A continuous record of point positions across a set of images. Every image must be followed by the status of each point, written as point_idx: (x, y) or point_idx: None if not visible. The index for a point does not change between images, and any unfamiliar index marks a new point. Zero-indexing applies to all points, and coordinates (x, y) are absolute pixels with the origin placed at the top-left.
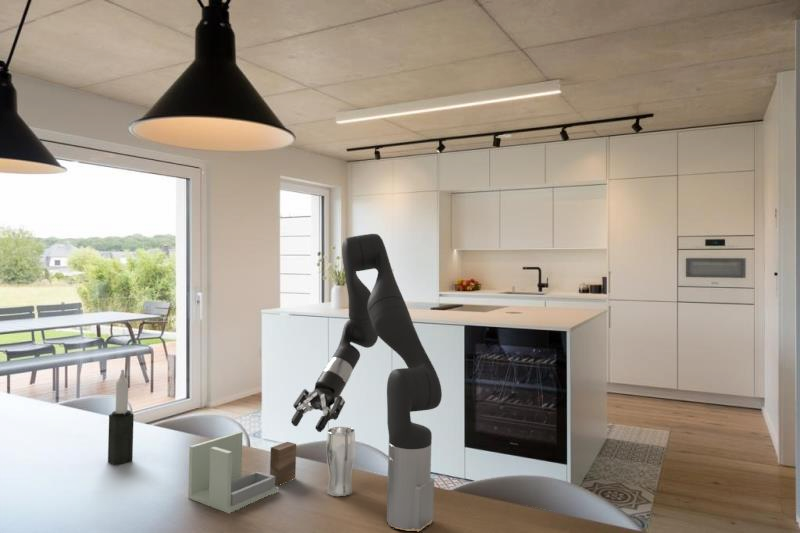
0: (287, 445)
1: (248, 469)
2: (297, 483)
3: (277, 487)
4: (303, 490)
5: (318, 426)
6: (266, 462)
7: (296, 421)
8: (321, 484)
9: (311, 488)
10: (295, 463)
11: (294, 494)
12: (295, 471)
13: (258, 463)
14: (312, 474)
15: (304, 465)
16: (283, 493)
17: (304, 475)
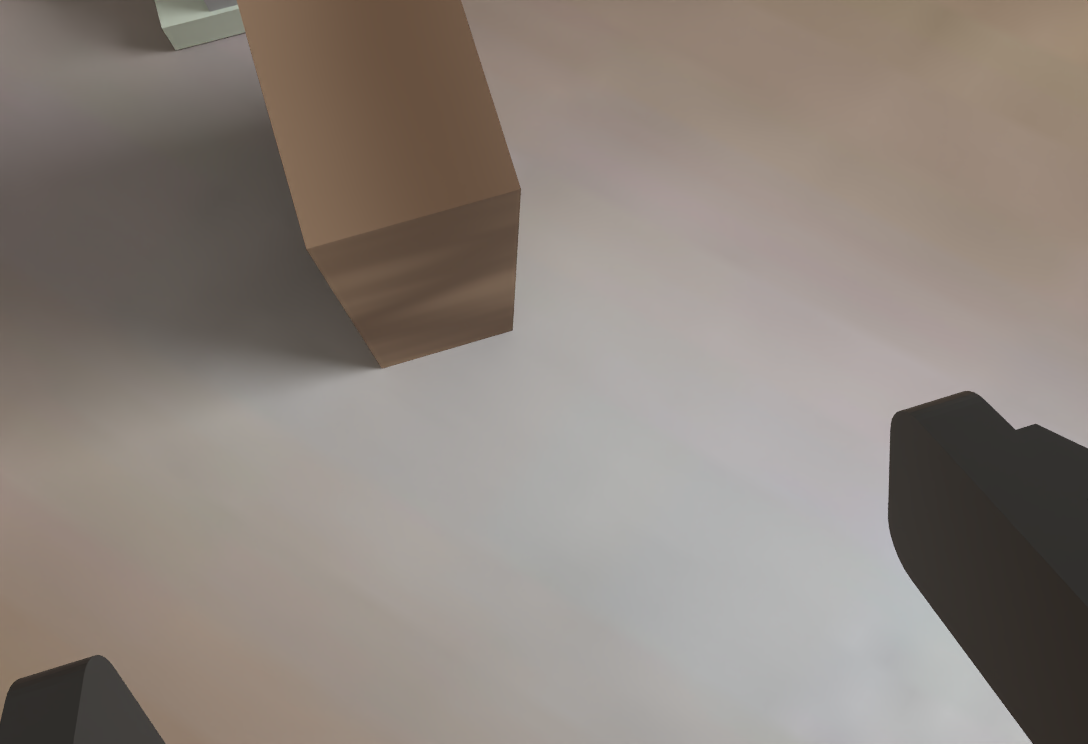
0: (323, 78)
1: (949, 96)
2: (249, 320)
3: (171, 20)
4: (34, 272)
5: (8, 730)
6: (1060, 359)
7: (942, 537)
8: (43, 526)
9: (22, 370)
10: (355, 324)
11: (8, 144)
12: (372, 352)
13: (1075, 268)
14: (382, 610)
15: (714, 694)
16: (107, 71)
17: (412, 512)
